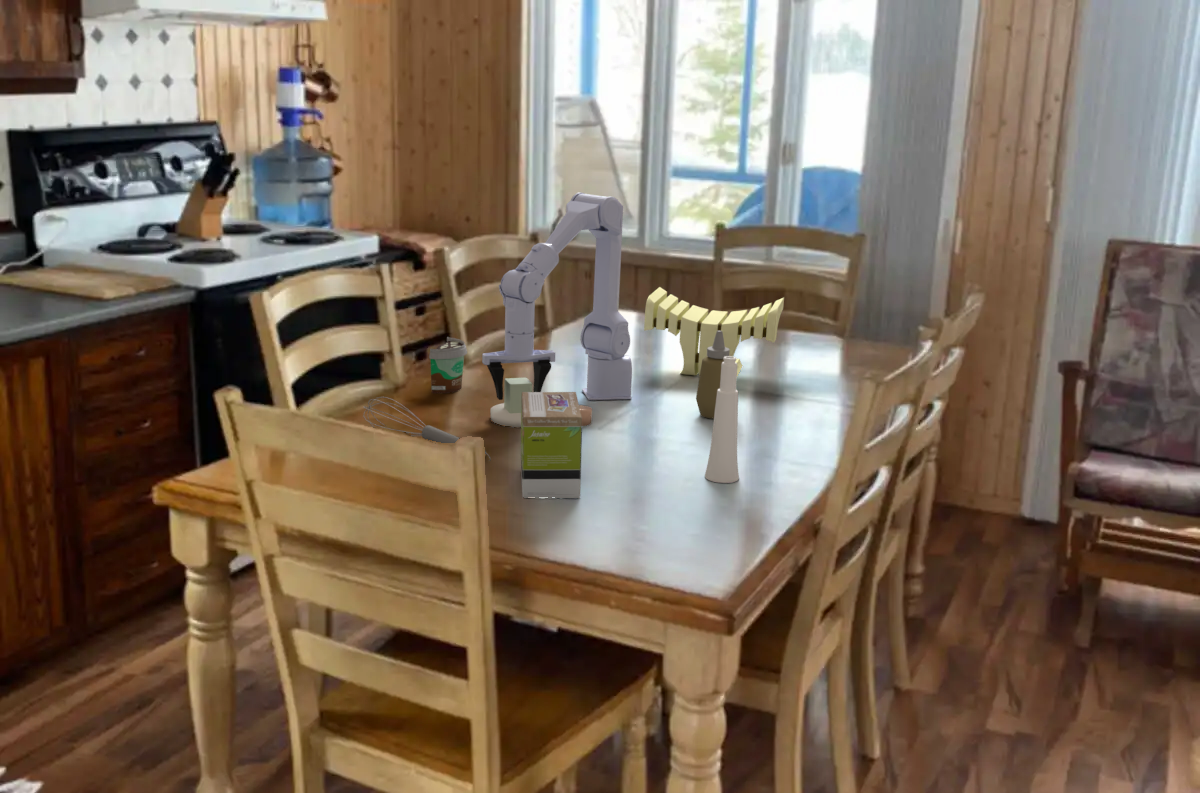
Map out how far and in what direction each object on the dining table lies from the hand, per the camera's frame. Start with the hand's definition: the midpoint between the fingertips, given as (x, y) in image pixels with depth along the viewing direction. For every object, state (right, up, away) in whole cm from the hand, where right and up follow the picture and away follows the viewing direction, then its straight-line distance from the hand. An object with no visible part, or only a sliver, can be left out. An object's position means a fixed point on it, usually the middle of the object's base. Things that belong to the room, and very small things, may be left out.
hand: (518, 397), depth 242 cm
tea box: (+8, -15, -34) cm, 38 cm away
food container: (-16, +2, +22) cm, 27 cm away
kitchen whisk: (-16, -9, -14) cm, 23 cm away
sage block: (0, -2, +1) cm, 3 cm away
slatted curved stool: (+43, +6, +44) cm, 61 cm away
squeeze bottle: (+40, -4, +9) cm, 41 cm away
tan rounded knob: (+12, -5, +1) cm, 13 cm away
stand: (0, -4, +1) cm, 5 cm away
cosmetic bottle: (+38, -14, -28) cm, 49 cm away
